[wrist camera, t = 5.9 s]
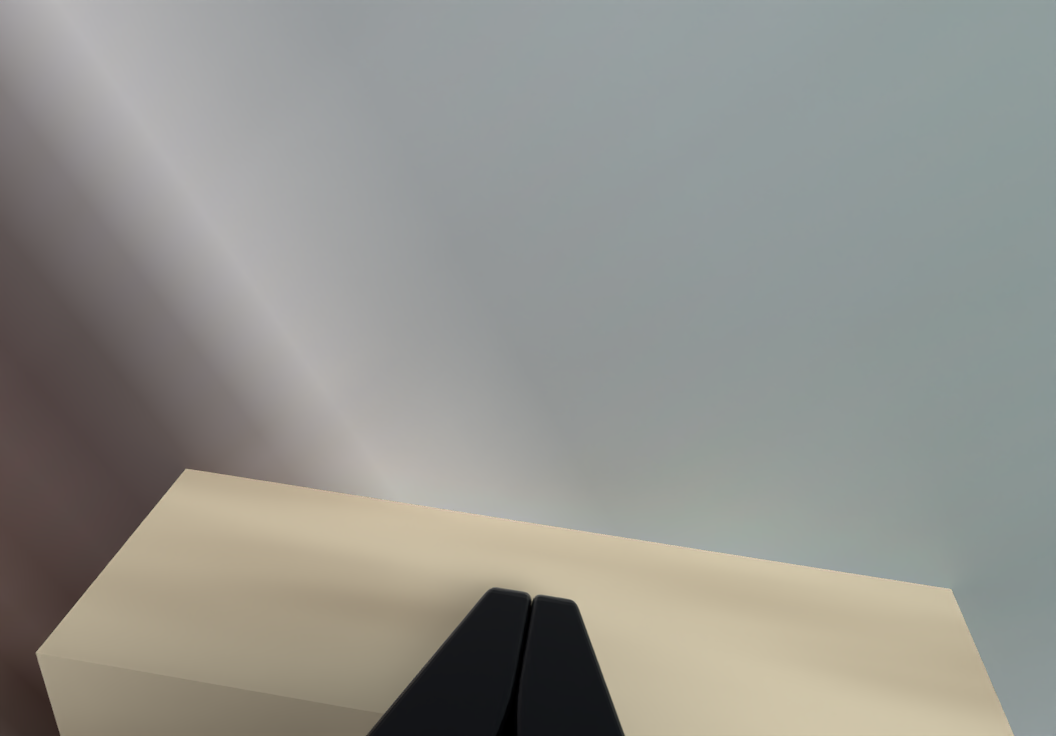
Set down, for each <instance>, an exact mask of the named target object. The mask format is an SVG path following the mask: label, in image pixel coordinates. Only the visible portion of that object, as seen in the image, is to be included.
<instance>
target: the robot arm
mask: <svg viewBox="0 0 1056 736" xmlns="http://www.w3.org/2000/svg"><path fill="white" fill-rule="evenodd" d="M366 736H625V734H624V731H623V728H622V726H621V723H620V720H619V717H618V715H617V712H616V709H615V706H614V704H613V701H612V698H611V695H610V693H609V690H608V687H607V684H606V682H605V679H604V676H603V673H602V670H601V668H600V665H599V662H598V659H597V657H596V654H595V651H594V648H593V646H592V643H591V640H590V637H589V635H588V632H587V629H586V626H585V624H584V621H583V618H582V615H581V613H580V610H579V608H578V606H577V604H576V603H575V602H574V601H573V600H571V599H565V598H559V597H553V596H547V595H537V596H535V597H534V598H533V600H532V598H531V596H530V595H529V594H528V593H527V592H523V591H517V590H510V589H504V588H498V587H493V588H491V589H489V590H488V591H486V592H485V594H484V595H483V596H482V597H481V598H480V599H479V601H478V602H477V603H476V604H475V605H474V607H473V608H472V609H471V610H470V611H469V613H468V614H467V615H466V616H465V617H464V619H463V620H462V621H461V622H460V623H459V625H458V626H457V627H456V628H455V629H454V631H453V632H452V633H451V634H450V635H449V637H448V638H447V639H446V640H445V641H444V643H443V644H442V645H441V646H440V647H439V649H438V650H437V651H436V652H435V653H434V655H433V656H432V657H431V658H430V659H429V661H428V662H427V663H426V664H425V665H424V667H423V668H422V669H421V670H420V671H419V673H418V674H417V675H416V676H415V677H414V678H413V680H412V681H411V682H410V683H409V684H408V686H407V687H406V688H405V689H404V690H403V692H402V693H401V694H400V695H399V696H398V698H397V699H396V700H395V701H394V702H393V704H392V705H391V706H390V707H389V708H388V710H387V711H386V712H385V713H384V714H383V716H382V717H381V718H380V719H379V720H378V722H377V723H376V724H375V725H374V726H373V728H372V729H371V730H370V731H369V732H368V734H367V735H366Z"/></svg>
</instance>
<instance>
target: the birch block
mask: <svg viewBox="0 0 1056 736" xmlns="http://www.w3.org/2000/svg"><path fill="white" fill-rule="evenodd" d="M493 587H498V588H504V589H510V590H517V591H523V592H527V593H528V594H529V595H530V596H531V598H532V600H533V598H534V597H535V596H537V595H547V596H553V597H559V598H565V599H571V600H573V601H574V602H575V603H576V604H577V606H578V608H579V610H580V613H581V615H582V618H583V621H584V624H585V626H586V629H587V632H588V635H589V637H590V640H591V643H592V646H593V648H594V651H595V654H596V657H597V659H598V662H599V665H600V668H601V670H602V673H603V676H604V679H605V682H606V684H607V687H608V690H609V693H610V695H611V698H612V701H613V704H614V706H615V709H616V712H617V715H618V717H619V720H620V723H621V726H622V728H623V731H624V734H625V736H1014V734H1013V732H1012V730H1011V727H1010V725H1009V723H1008V720H1007V718H1006V716H1005V713H1004V711H1003V709H1002V706H1001V704H1000V702H999V699H998V697H997V695H996V693H995V690H994V688H993V686H992V683H991V681H990V679H989V676H988V674H987V672H986V669H985V667H984V665H983V662H982V660H981V658H980V655H979V653H978V651H977V648H976V646H975V644H974V641H973V639H972V637H971V634H970V632H969V630H968V627H967V625H966V623H965V620H964V618H963V616H962V613H961V611H960V609H959V606H958V604H957V602H956V599H955V597H954V595H953V592H952V590H951V589H947V588H940V587H934V586H928V585H921V584H915V583H909V582H902V581H896V580H889V579H883V578H877V577H870V576H864V575H858V574H851V573H845V572H839V571H832V570H826V569H820V568H813V567H807V566H801V565H794V564H788V563H782V562H775V561H769V560H763V559H756V558H750V557H743V556H737V555H731V554H724V553H718V552H712V551H705V550H699V549H693V548H686V547H680V546H674V545H667V544H661V543H655V542H648V541H642V540H636V539H629V538H623V537H617V536H610V535H604V534H597V533H591V532H585V531H578V530H572V529H566V528H559V527H553V526H547V525H540V524H534V523H528V522H521V521H515V520H509V519H502V518H496V517H490V516H483V515H477V514H471V513H464V512H458V511H452V510H445V509H439V508H432V507H426V506H420V505H413V504H407V503H401V502H394V501H388V500H382V499H375V498H369V497H363V496H356V495H350V494H344V493H337V492H331V491H325V490H318V489H312V488H306V487H299V486H293V485H286V484H280V483H274V482H267V481H261V480H255V479H248V478H242V477H236V476H229V475H223V474H217V473H210V472H204V471H198V470H191V469H185V470H184V472H183V473H182V474H181V475H180V477H179V478H178V479H177V480H176V482H175V483H174V484H173V485H172V486H171V488H170V489H169V490H168V491H167V493H166V494H165V495H164V496H163V497H162V499H161V500H160V501H159V502H158V504H157V505H156V506H155V507H154V508H153V510H152V511H151V512H150V513H149V515H148V516H147V517H146V518H145V520H144V521H143V522H142V523H141V524H140V526H139V527H138V528H137V529H136V531H135V532H134V533H133V534H132V535H131V537H130V538H129V539H128V540H127V542H126V543H125V544H124V545H123V546H122V548H121V549H120V550H119V551H118V553H117V554H116V555H115V556H114V558H113V559H112V560H111V561H110V562H109V564H108V565H107V566H106V567H105V569H104V570H103V571H102V572H101V573H100V575H99V576H98V577H97V578H96V580H95V581H94V582H93V583H92V584H91V586H90V587H89V588H88V589H87V591H86V592H85V593H84V594H83V596H82V597H81V598H80V599H79V600H78V602H77V603H76V604H75V605H74V607H73V608H72V609H71V610H70V611H69V613H68V614H67V615H66V616H65V618H64V619H63V620H62V621H61V622H60V624H59V625H58V626H57V627H56V629H55V630H54V631H53V632H52V634H51V635H50V636H49V637H48V638H47V640H46V641H45V642H44V643H43V645H42V646H41V647H40V648H39V649H38V651H37V652H36V655H37V659H38V662H39V665H40V669H41V672H42V675H43V679H44V682H45V686H46V689H47V692H48V696H49V699H50V702H51V706H52V709H53V712H54V716H55V719H56V722H57V726H58V729H59V733H60V736H366V735H367V734H368V732H369V731H370V730H371V729H372V728H373V726H374V725H375V724H376V723H377V722H378V720H379V719H380V718H381V717H382V716H383V714H384V713H385V712H386V711H387V710H388V708H389V707H390V706H391V705H392V704H393V702H394V701H395V700H396V699H397V698H398V696H399V695H400V694H401V693H402V692H403V690H404V689H405V688H406V687H407V686H408V684H409V683H410V682H411V681H412V680H413V678H414V677H415V676H416V675H417V674H418V673H419V671H420V670H421V669H422V668H423V667H424V665H425V664H426V663H427V662H428V661H429V659H430V658H431V657H432V656H433V655H434V653H435V652H436V651H437V650H438V649H439V647H440V646H441V645H442V644H443V643H444V641H445V640H446V639H447V638H448V637H449V635H450V634H451V633H452V632H453V631H454V629H455V628H456V627H457V626H458V625H459V623H460V622H461V621H462V620H463V619H464V617H465V616H466V615H467V614H468V613H469V611H470V610H471V609H472V608H473V607H474V605H475V604H476V603H477V602H478V601H479V599H480V598H481V597H482V596H483V595H484V594H485V592H486V591H488V590H489V589H491V588H493Z"/></svg>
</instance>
